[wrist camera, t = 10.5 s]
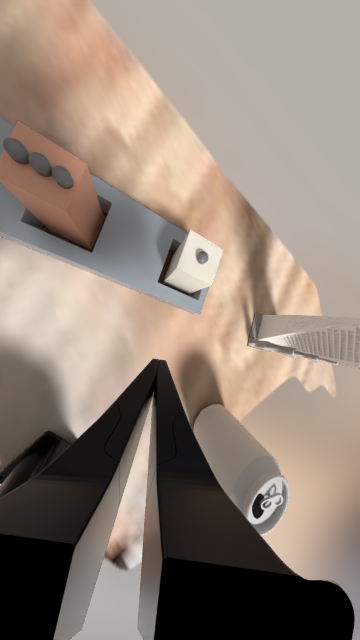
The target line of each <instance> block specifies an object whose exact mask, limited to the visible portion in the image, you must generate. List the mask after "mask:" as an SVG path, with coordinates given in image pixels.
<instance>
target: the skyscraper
mask: <svg viewBox="0 0 360 640" xmlns="http://www.w3.org/2000/svg"><path fill="white" fill-rule="evenodd" d="M247 346H249V347H253V348H257V349H261V350H265V351H269V352H278V353H282V354H284V355H287V356H290V357H292V358H296V357H303V358H307V359H310V360H313V361H316V362H319V361H324V362H328V363H332V364H335V365H338V364H339V365H344V366H349V367H355V368H360V319H357V318H343V317H325V316H303V315H260V314H258V313H255V315H254V319H253V323H252V328H251V332H250V336H249V340H248V344H247Z"/></svg>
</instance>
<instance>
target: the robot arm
mask: <svg viewBox="0 0 360 640" xmlns="http://www.w3.org/2000/svg"><path fill="white" fill-rule="evenodd" d="M153 393H154V394H153ZM152 397H153V404H152V419H151V434H150V449H149V464H148V479H147V494H146V508H145V523H144V538H143V553H142V568H141V583H140V597H139V612H138V626H137V627H138V630H139V632H140V634H141V636H142V638H143V640H352V635H353V629H354V610H353V607H352V603H351V601H350V599H349V597H348V596H347V594H346V593H345V592H344V591H343V589H342V588H341V587H340V586H339V585H338V584H337V583H336V582H334V581H328V580H326V581H325V580H306V579H304V578H302V577H301V576H299V575H298V574H296V573H295V572H293V571H292V570H291V569H290V568H289V567H288V566H287V565H286V564H285V563H283V561H282V560H281V559H280V558H279V557H278V556H277V555H276V553H275V552H274V551H273V550H272V548H271V547H270V546H269V545H268V544H267V543H266V541H265V540H264V539H263V538H262V536H261V535H260V534H259V533H258V531H257V530H256V529H255V528H254V527H253V525H252V524H251V523H250V522H249V521H248V519H247V518H246V517H245V516H244V514H243V513H242V512H241V511H240V510H239V508H238V507H237V506H236V505H235V504H234V502H233V501H232V500H231V499H230V497H229V496H228V495H227V494H226V492H225V491H224V490H223V488H222V487H221V485H220V484H219V482H218V480H217V479H216V477H215V475H214V473H213V471H212V469H211V467H210V465H209V463H208V461H207V459H206V457H205V455H204V453H203V451H202V449H201V447H200V445H199V443H198V441H197V439H196V437H195V435H194V433H193V431H192V428H191V426H190V424H189V421H188V419H187V416H186V414H185V411H184V409H183V406H182V403H181V400H180V398H179V395H178V392H177V389H176V387H175V384H174V381H173V379H172V376H171V373H170V370H169V368H168V365H167V362H166V361H165V360H159V359H152V360H151V361H150V363H149V364H148V365H147V366H146V367H145V368H144V369H143V370H142V372H141V373H140V374H139V375H138V376H137V377H136V378H135V379H134V380H133V382H132V383H131V384H130V385H129V386H128V387H127V388H126V389H125V391H124V392H123V393H122V394H121V395H120V396H119V397H118V398H117V400H116V401H115V402H114V403H113V404H112V405H111V406H110V407H109V408H108V409H107V410H106V412H105V413H104V414H103V415H102V416H101V417H100V418H99V419H98V420H97V421H96V422H95V423H94V424H93V425H92V426H91V427H90V428H88V429H87V430H86V431H85V432H84V433H83V434H82V435H81V436H80V437H79V438H78V439H77V440H76V441H75V442H73V443H72V444H69V443H68V442H66V441H65V440H63V439H62V438H60V437H59V436H57V435H56V434H54V433H52V432H50V431H48V432H45V433H44V434H43V435H42V436H41V437H40V438H38V439H37V440H36V441H35V442H34V443H33V444H32V445H30V446H29V447H28V448H27V449H26V450H25V451H24V452H23V453H21V454H20V455H19V456H18V457H17V458H16V459H15V460H13V461H12V462H11V463H10V464H9V465H8V466H7V467H6V468H4V469H3V470H2V471H1V472H0V484H1V486H0V640H70V639H71V638H72V637H73V636H74V635H76V633H78V632H79V631H80V630H81V629H82V627H83V624H84V621H85V617H86V614H87V611H88V607H89V604H90V601H91V597H92V594H93V591H94V588H95V584H96V581H97V578H98V575H99V571H100V568H101V565H102V561H103V558H104V555H105V552H106V548H107V545H108V542H109V538H110V535H111V532H112V529H113V525H114V522H115V519H116V516H117V512H118V509H119V504H120V502H121V499H122V496H123V492H124V489H125V486H126V483H127V479H128V476H129V473H130V470H131V466H132V463H133V460H134V456H135V453H136V450H137V447H138V443H139V440H140V437H141V433H142V430H143V427H144V424H145V420H146V417H147V414H148V411H149V407H150V404H151V401H152ZM46 436H48V437H46Z"/></svg>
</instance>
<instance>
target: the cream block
mask: <svg viewBox="0 0 360 640" xmlns="http://www.w3.org/2000/svg"><path fill="white" fill-rule="evenodd" d="M222 253H223V250H222V249H221V248H219V247H217V246H216V245H214V244H213V243H211V242H209V241H208V240H206V239H205V238H203V237H202V236H200V235H198V234H197V233H195V232H194V231H192V230H190V231H189V233H188V234H187V235H186V237H185V238H184V240H183V241H182V243H181V244H180V246H179V247H178V249H177V250H176V252H175V253H174V255H173V257H172V259H171V262H170V265H169V268H168V270H167V273H166V276H165V279H164V281H163V283H165V284H168V285H170V286H172V287H174V288H176V289H179V290H181V291H183V292H185V293H187V294H190V293H192V292H195V291H198V290H201V289H204V288H206V287H209V286H212V283H213V280H214V277H215V274H216V271H217V268H218V265H219V262H220V259H221V256H222Z"/></svg>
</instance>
